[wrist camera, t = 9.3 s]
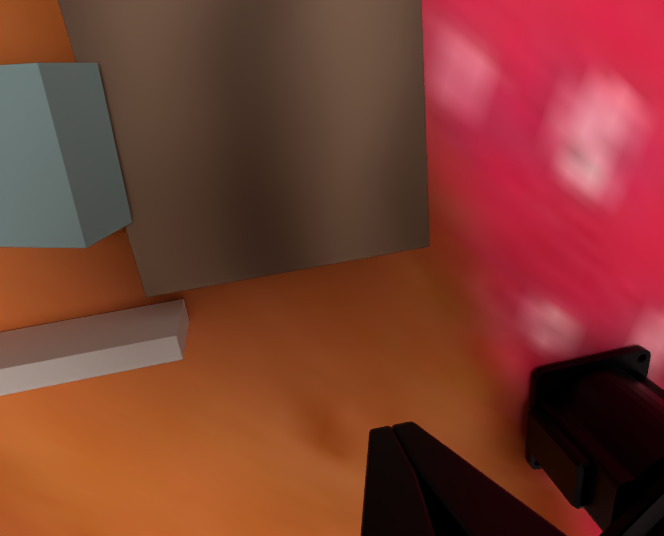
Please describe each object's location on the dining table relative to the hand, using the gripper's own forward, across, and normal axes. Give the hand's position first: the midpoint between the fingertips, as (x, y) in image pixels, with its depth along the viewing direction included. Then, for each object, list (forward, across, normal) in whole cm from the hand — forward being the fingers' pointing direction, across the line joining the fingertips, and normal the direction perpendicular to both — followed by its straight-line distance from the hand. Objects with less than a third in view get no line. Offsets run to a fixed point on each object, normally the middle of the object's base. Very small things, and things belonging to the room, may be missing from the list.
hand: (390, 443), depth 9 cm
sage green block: (+11, +8, -5) cm, 14 cm away
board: (+12, +1, -5) cm, 13 cm away
